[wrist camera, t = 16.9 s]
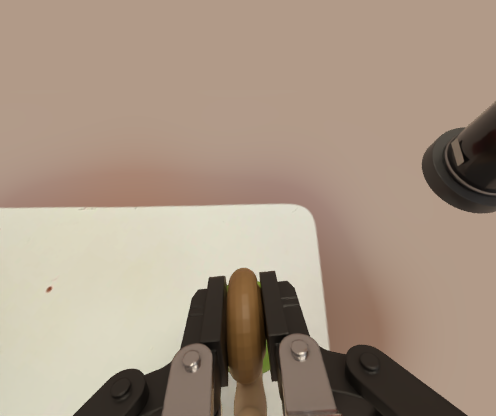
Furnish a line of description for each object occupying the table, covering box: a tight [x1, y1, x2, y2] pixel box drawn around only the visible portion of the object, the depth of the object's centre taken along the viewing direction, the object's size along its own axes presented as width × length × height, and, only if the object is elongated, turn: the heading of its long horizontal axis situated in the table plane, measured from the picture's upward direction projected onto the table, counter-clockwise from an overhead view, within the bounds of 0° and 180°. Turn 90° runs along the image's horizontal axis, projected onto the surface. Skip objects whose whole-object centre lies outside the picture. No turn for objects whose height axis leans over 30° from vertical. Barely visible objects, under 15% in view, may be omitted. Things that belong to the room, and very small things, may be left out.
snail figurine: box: [226, 268, 270, 416], centre depth 13 cm, size 5×6×12 cm
